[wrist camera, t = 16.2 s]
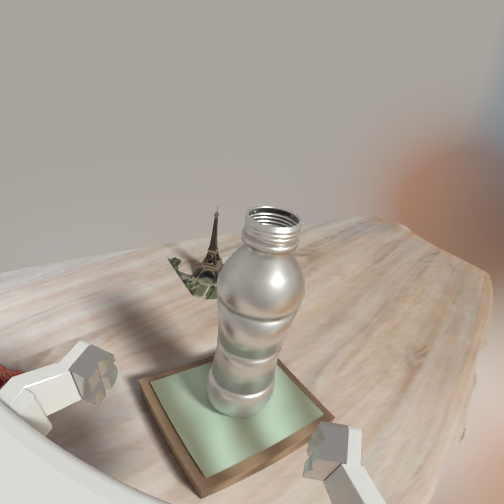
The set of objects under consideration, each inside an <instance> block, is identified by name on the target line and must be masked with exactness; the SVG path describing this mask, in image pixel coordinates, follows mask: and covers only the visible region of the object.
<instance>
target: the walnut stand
mask: <svg viewBox="0 0 504 504" xmlns="http://www.w3.org/2000/svg"><path fill="white" fill-rule="evenodd" d="M213 360H214V356H212V357H209V358H206V359H203V360H200V361H197V362H194V363H191V364H188V365H185V366H182V367H179V368H176V369H173V370H169V371H166V372H163V373H160V374H156V375H153V376H150V377H146V378H143V379H139V385H140V390H141V395H142V397H143V399H144V401H145V403H146V405H147V407H148V409H149V411H150V413H151V415H152V417H153V419H154V421H155V423H156V425H157V427H158V429H159V431H160V432H161V434H162V436H163V438H164V440H165V442H166V443H167V445H168V447H169V449H170V450H171V452H172V454H173V456H174V457H175V459H176V461H177V462H178V464H179V466H180V467H181V469H182V471H183V472H184V474H185V476H186V477H187V479H188V480H189V482H190V483H191V485H192V487H193V488H194V490H195V491H196V493H197V494H198V496H199V497H200V499H202V498H204V497H206V496H209V495H211V494H213V493H215V492H218V491H220V490H222V489H224V488H226V487H228V486H231V485H233V484H235V483H237V482H239V481H241V480H243V479H245V478H247V477H249V476H251V475H253V474H254V473H256V472H258V471H260V470H262V469H264V468H266V467H267V466H269V465H271V464H273V463H275V462H276V461H278V460H280V459H282V458H283V457H285V456H287V455H288V454H290V453H292V452H293V451H295V450H297V449H298V448H300V447H302V446H303V445H305V444H306V443H308V442H309V441H310V438H311V436H312V434H313V432H314V431H316V430H317V428H318V425H319V423H320V422H321V421H324V422H330V423H332V421H333V420H334V418H335V417H334V416H333V415H332V414H331V413H330V412H329V411H328V410H327V409H326V408H325V407H324V406H323V405H322V404H321V403H320V402H319V401H318V400H317V399H316V398H315V397H314V396H313V395H312V394H311V393H310V391H309V390H308V389H307V388H306V387H305V386H304V385H303V384H302V383H301V382H300V381H299V380H298V379H297V378H296V377H295V376H294V375H293V374H292V373H291V372H290V371H289V370H288V369H287V367H286V366H285V365H284V364H283V363H282V362H281V361H280V360H279V359H277V365H276V370H275V385H274V391H273V395H272V397H271V399H270V400H269V402H268V403H267V404H266V406H265V407H264V408H263V409H262V410H261V411H260V412H258V413H256V414H254V415H252V416H248V417H232V416H228V415H225V414H223V413H221V412H219V411H218V410H216V409H215V408H214V407H213V406H212V404H211V403H210V401H209V398H208V395H207V390H206V379H207V376H208V373H209V370H210V368H211V365H212V363H213Z"/></svg>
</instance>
